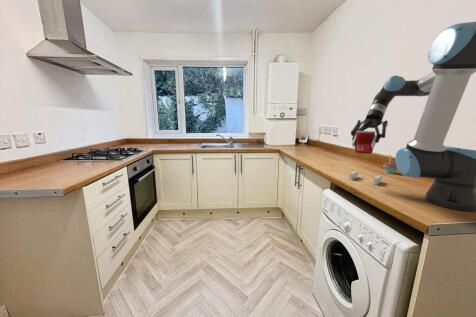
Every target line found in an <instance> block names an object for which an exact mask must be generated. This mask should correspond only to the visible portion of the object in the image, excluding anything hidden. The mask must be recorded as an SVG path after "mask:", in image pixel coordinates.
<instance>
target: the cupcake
mask: <svg viewBox="0 0 476 317" xmlns="http://www.w3.org/2000/svg"><path fill="white" fill-rule="evenodd" d="M382 167H383V168H384V173H387V174H395V173H396V171H398V169H397V166H396V162H395V161H394V162H393V161H392V155H391V154H390V155H389V161H386V162H384V163H383V164H382Z"/></svg>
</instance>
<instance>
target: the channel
mask: <svg viewBox="0 0 476 317" xmlns="http://www.w3.org/2000/svg"><path fill="white" fill-rule="evenodd" d="M358 173H359V172H358V170H357V171H356V170H355V171H352V172H350V173H349V180H350V181H353V180H354V179H356V178H358V175H359V174H358ZM382 178H383V176H382V175H380V174H379V175H377V176H375V177H374V178H373V186H378V184H380V183H381V182H382Z"/></svg>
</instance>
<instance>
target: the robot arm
mask: <svg viewBox="0 0 476 317" xmlns="http://www.w3.org/2000/svg"><path fill="white" fill-rule="evenodd" d="M427 58H428V59H427V60H428V63H430V64H431V65H432V69H431V71H432V72H431V73H428V74H427V75H425V76H423V77H422V78H419V79H417V80H416V79H415V80H406V79H405V78H404V77H403V76H399V75H393V76H390V77H389V78H388V79H387V80H386V81H385V82H384V83H383V86H382V87H381V89H380V91H378V92H377V93H376V94H375V96H374V98H373V101H372V102H371V105H370V108H369V109H368V112H367V113H366V114H367V115H366V116H365V118H364V119H363V120H359V119H358V120H357V123H356V124H355V126H354V127H353V129H352V130H351V131H350V135H351V140H352V142H351V146H352V148H355V142H356V133H357V131H366V130H368V129H374V131H375V137H374V139H373V142H372V144H371V147H372V149H373V150H374V149H375V146H376V144H377V143H379V142H380V139H381V138H382V139H386V132H387V127H388V126H389V124H388V123H389V121H388V120H387V119H386V120H383V118H384V116H385V113H386V111H387V109H388V106H389V104H391V102H392V100H393V99H394V98H395V97H427V100H426V103H425V105H424V108H423V112H422V114H421V118H420V120H419V123H418V126H417V129H416V132H415V134H414V138H412V139H411V140H409V141H408V142H407V143H406V146H405V147H403V148H400V149H399V150H398V151H397V152H396V154H395V159H394V160H395V161H394V163H396V166H397V171H398V172H399V173H400V174H401V175H403V176H404V177H407V178H415V179H417V178H420V179H421V178H422V179H423V178H424V179H426V178H427V179H433V183H432V184H431V185H430V186H429V189H428V190H427V191H426V192H425V196H424V199H425V200H426V201H427V202H429V203H430V204H433V205H437V206H440V207H443V208H447V209H452V210H458V211H464V212H465V211H466V212H475V211H476V149H475V150H474V149H468V148H461V147H455V146H447V145H445V144H444V143H445V140H446V137H447V134H448V132H449V130H450V128H451V125H452V122H453V120H454V117H455V115H456V113H457V110H458V108H459V105H460V102H461V100H462V98H463V95H464V93H465V91H466V88H467V86H468V83H469V81H470V79H471V76H472V75H473V74H474V73H475V74H476V21H467V22H461V23H454V24H452V25H450V26H448V27H446V28H445V29H444V30H443V31H441V32H440V34H439V35H438V36H437V37H436V38H435V39H434V41H433V42H432V44H431V46H430V48H429V50H428V53H427ZM381 125H382V128H381V133H380V129H379V126H381Z"/></svg>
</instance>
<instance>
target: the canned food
mask: <svg viewBox="0 0 476 317" xmlns="http://www.w3.org/2000/svg"><path fill="white" fill-rule="evenodd" d="M375 135H376V131H375V130H374V131H373V130H364V131H357V133H356V142H355V146H354V153H356V154H364V155H372V154H373V150H374V149H372V147H371V144H372V142H373V139H374V137H375Z"/></svg>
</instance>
